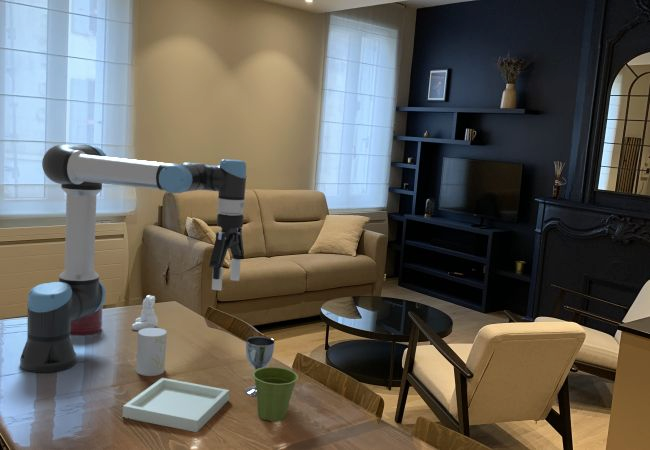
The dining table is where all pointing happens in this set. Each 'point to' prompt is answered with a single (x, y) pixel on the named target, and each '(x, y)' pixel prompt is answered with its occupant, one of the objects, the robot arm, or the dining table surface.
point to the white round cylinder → (151, 351)
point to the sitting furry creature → (146, 315)
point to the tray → (176, 404)
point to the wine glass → (258, 355)
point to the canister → (87, 324)
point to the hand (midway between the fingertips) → (225, 285)
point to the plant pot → (274, 391)
